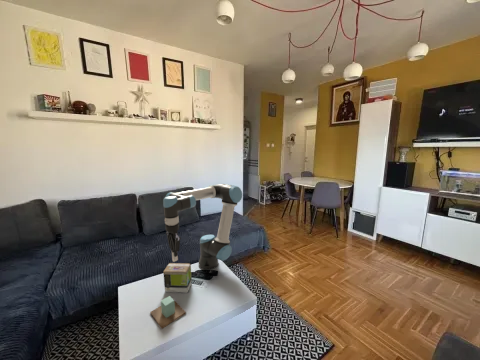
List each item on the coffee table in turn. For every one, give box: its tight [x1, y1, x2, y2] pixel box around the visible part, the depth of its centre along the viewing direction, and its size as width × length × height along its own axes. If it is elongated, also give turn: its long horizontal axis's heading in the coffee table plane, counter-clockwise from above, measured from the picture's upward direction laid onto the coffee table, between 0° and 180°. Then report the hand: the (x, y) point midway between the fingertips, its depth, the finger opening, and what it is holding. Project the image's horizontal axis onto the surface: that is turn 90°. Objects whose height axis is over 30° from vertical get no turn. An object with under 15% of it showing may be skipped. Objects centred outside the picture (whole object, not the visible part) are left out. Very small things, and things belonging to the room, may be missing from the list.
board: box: [150, 298, 187, 330], centre depth 116 cm, size 14×14×1 cm
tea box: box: [163, 262, 193, 294], centre depth 136 cm, size 15×10×15 cm, turn 87°
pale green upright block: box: [160, 295, 175, 318], centre depth 115 cm, size 5×5×8 cm
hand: (175, 260), depth 124 cm, fingers closed
